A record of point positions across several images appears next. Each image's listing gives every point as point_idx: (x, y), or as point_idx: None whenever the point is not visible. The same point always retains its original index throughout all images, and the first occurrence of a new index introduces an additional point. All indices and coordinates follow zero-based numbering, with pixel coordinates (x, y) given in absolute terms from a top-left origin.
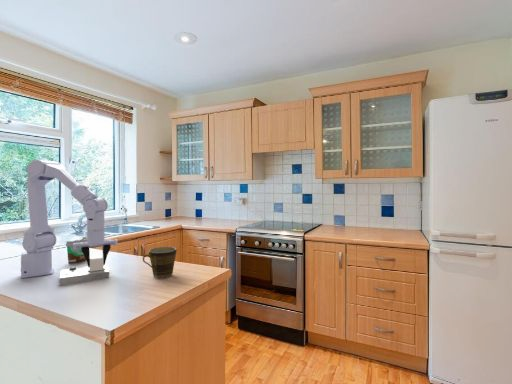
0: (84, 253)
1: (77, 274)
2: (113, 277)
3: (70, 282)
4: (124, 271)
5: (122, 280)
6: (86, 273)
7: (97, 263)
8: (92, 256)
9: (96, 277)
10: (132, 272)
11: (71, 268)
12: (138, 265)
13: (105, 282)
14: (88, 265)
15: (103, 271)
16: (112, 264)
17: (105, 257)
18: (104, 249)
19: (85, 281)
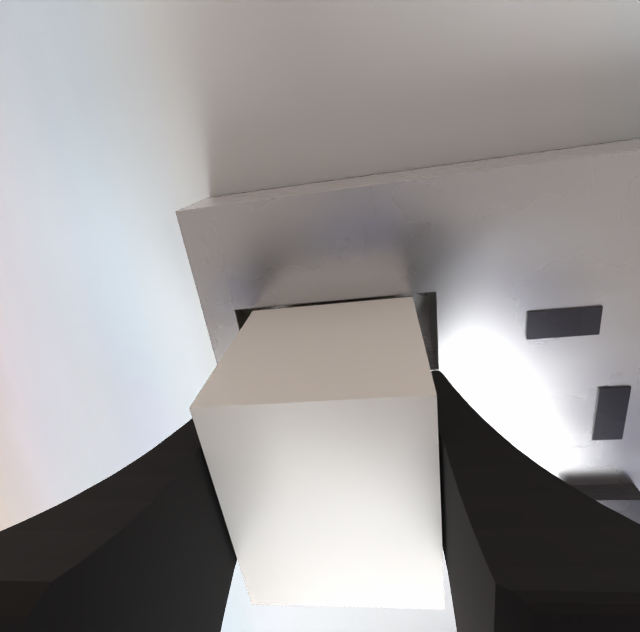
0: (618, 524)
1: (573, 235)
2: (166, 203)
3: (633, 140)
4: (104, 375)
5: (31, 8)
6: (456, 231)
7: (309, 350)
8: (393, 576)
9: (332, 183)
10: (16, 306)
11: (623, 498)
12: (30, 497)
13: (220, 8)
14: (441, 378)
15: (244, 234)
16: (248, 608)
17: (171, 444)
18: (58, 565)
19: (452, 164)
